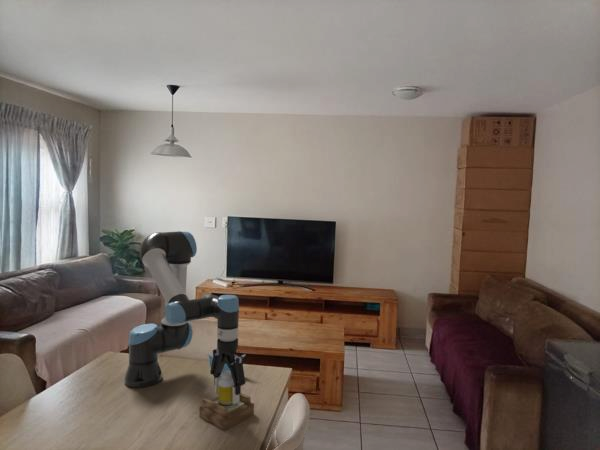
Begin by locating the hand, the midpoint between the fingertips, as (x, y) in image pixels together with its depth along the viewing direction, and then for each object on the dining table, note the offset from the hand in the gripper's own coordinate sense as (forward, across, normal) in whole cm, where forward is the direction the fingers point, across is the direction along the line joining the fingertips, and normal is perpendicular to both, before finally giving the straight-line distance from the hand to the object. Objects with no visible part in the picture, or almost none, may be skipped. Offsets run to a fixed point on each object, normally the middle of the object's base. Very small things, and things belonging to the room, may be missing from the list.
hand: (227, 398), depth 148 cm
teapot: (+7, -25, +22) cm, 34 cm away
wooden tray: (+6, 0, 0) cm, 6 cm away
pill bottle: (+2, 0, 0) cm, 2 cm away
